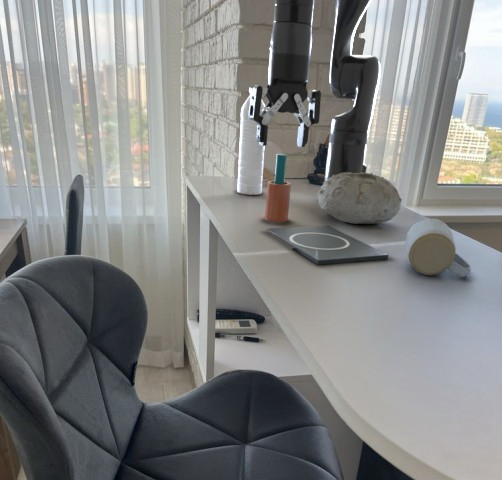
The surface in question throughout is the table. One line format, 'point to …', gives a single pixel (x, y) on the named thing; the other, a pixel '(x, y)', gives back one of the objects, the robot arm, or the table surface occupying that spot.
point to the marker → (280, 169)
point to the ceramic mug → (433, 249)
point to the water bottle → (250, 154)
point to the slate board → (327, 245)
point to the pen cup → (277, 201)
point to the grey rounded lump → (359, 198)
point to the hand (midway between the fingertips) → (282, 146)
